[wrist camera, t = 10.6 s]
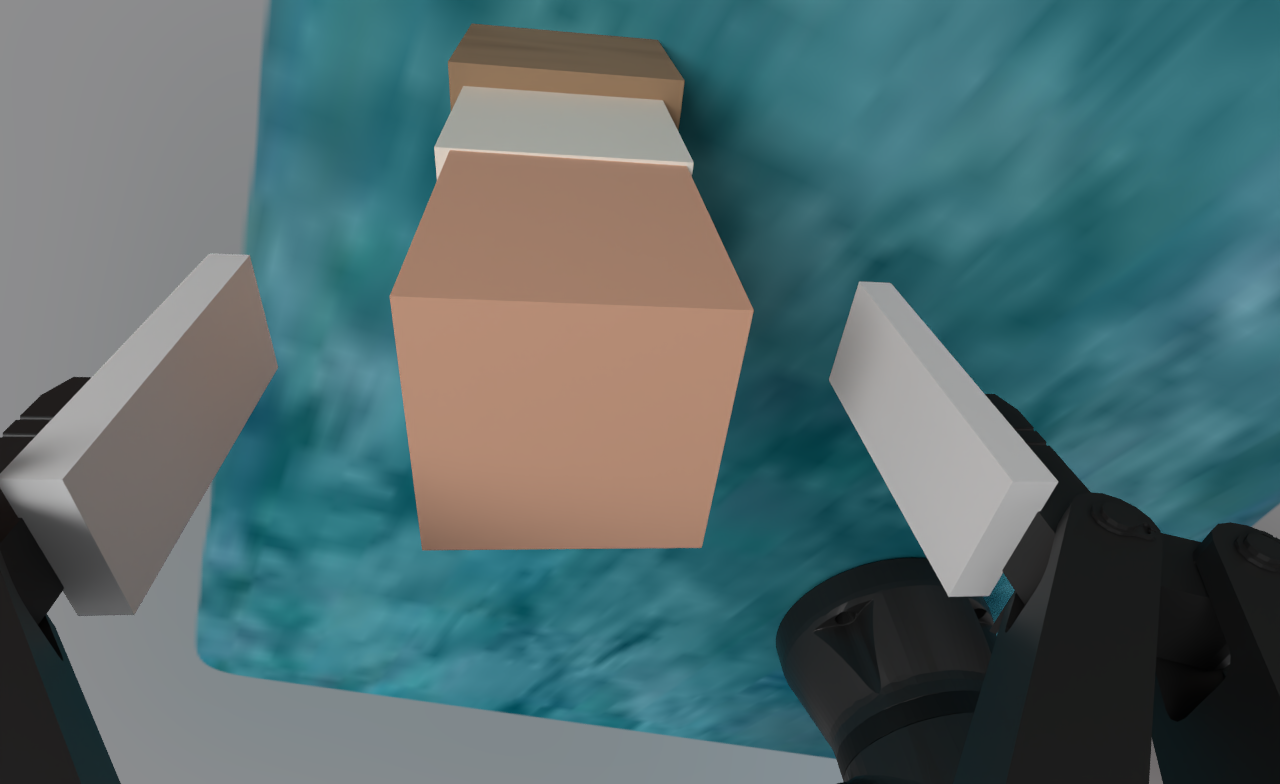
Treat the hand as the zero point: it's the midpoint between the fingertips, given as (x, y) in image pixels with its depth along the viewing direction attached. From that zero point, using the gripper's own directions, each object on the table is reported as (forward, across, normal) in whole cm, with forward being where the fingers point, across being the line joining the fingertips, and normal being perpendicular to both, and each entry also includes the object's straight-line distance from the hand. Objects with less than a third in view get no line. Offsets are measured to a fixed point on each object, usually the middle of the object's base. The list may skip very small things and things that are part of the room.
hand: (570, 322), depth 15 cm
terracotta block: (+3, 0, 0) cm, 3 cm away
